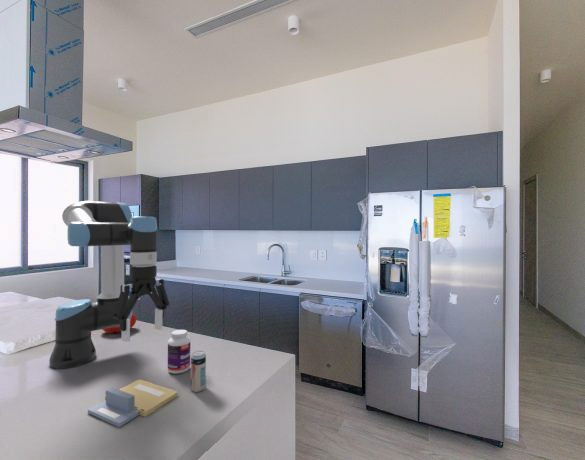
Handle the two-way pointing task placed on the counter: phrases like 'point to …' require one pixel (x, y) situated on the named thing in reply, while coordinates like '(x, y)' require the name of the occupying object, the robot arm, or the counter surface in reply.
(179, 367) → the pill bottle
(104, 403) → the stub
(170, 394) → the tan notebook
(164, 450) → the counter surface
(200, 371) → the beer can
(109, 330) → the red rounded piece
